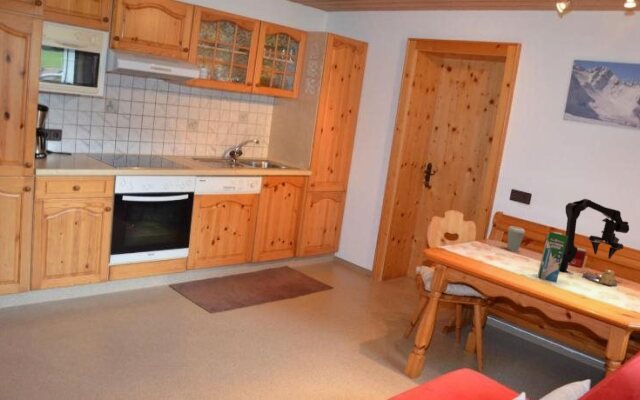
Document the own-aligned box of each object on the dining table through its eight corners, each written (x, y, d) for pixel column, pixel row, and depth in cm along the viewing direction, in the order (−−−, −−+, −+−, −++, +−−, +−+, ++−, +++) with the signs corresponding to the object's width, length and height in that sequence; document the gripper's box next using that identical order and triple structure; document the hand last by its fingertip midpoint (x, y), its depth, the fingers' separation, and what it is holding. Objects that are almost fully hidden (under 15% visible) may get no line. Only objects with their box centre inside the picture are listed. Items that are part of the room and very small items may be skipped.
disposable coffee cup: (522, 253, 363) (528, 230, 361) (506, 250, 363) (511, 227, 361) (517, 249, 374) (522, 227, 371) (501, 246, 373) (506, 224, 371)
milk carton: (555, 278, 306) (566, 233, 302) (556, 282, 297) (568, 235, 294) (537, 274, 309) (548, 229, 305) (538, 277, 300) (549, 231, 297)
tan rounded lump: (615, 284, 314) (618, 276, 313) (607, 284, 310) (609, 275, 309) (604, 280, 320) (606, 271, 319) (595, 279, 316) (597, 271, 316)
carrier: (603, 285, 310) (606, 274, 309) (575, 275, 326) (578, 264, 325) (625, 286, 319) (628, 275, 319) (597, 276, 335) (600, 265, 334)
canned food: (583, 268, 351) (587, 251, 349) (569, 265, 352) (574, 248, 350) (580, 265, 358) (584, 249, 356) (567, 262, 359) (571, 246, 358)
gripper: (632, 235, 327) (625, 261, 329) (603, 227, 343) (597, 252, 345) (620, 234, 321) (613, 261, 323) (591, 226, 337) (585, 251, 340)
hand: (602, 256), depth 333 cm, fingers open, 9 cm apart
